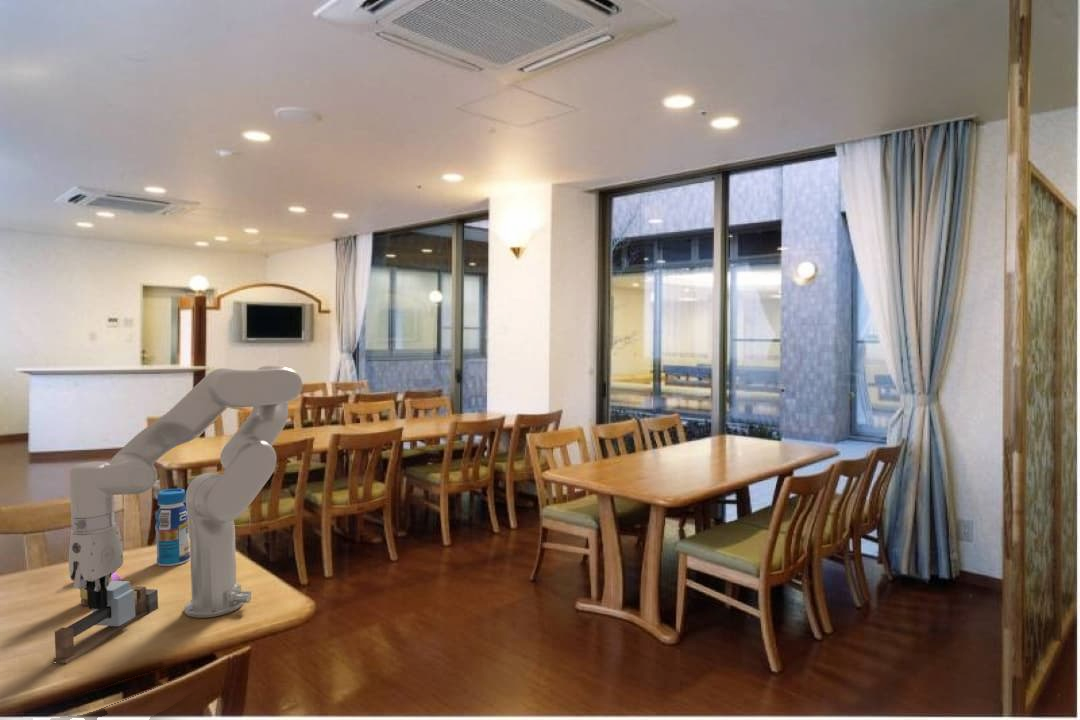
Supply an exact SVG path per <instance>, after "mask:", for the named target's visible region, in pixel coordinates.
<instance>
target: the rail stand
mask: <svg viewBox="0 0 1080 720" xmlns="http://www.w3.org/2000/svg"><path fill="white" fill-rule="evenodd" d="M146 587H147V586H140V585H137V586H134V587H132V588H131V589H132V590H134V591H135V617H133V618H132V619H130V620H128V621H127V622H125V623H124V624H122V625H120V626H105V627H104V628H102V629H101V630H99V631H96V632H95V633H94V634H93V635H91V636H89V637H87V638H86V639H84V640H82V641H81V642H79V643H77V644H76V645H75V644H74V643H75V640H74V638H75V637H78V636H79V635H80V634H82V633H84V632H86V631H87V630H89V629H91V628H92V627H94V626H97V625H96V624H97V623H99V622H101V621H102V620H104V619H106V618H108V617H109V616H111V606H106V607H104V608H102V609H98V610H97V611H95V612H93V611H92V612H91V613H89V614H88V615H86V616H84V617H82V618H81V619H79V620H77V621H75V622H74V623H72V624H70V625H68V626H67V627H61V628H59V629H57V630H54V646H55V650H54V651H55V652H54V653H55V657H54V658H53V659H52V663H53V662H56V663H66V664H65V665H68V664H70V663H71V662H73V661H74V660H76V659H78V658H79V657H81V656H82V655H83V654H85V653H87V652H89V651H90V650H92V649H93V648H95V647H96V646H98V645H100V644H101V643H103V642H104V641H106V640H107V639H109V638H110V637H112V636H114V635H116V634H118V632H120V631H122V630H124V629H125V628H127V627H128V626H130V625H131V624H132V623H135V622H137V620H139V619H141V618H142V617H144V616H145V615H148V614H151V613H152V612H155V611H157V609H159V598H158V597H159V596H158V592H159V591H158V589H152V588H151V589H149V588H146ZM69 662H70V663H69ZM67 663H68V664H67Z"/></svg>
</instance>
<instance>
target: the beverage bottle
mask: <svg viewBox="0 0 1080 720" xmlns="http://www.w3.org/2000/svg"><path fill="white" fill-rule="evenodd" d="M184 503H186V490H185V489H183V488H169V489H164V490H160V491H158V493H157V505H158V506H159V507H158V509H157V510H156V514H155V517H154V518H155V520H156V523H155V525H154V530H155V536H156V539H155V540H156V564H157V565H158V566H160V567H174V566H179V565H182V564H185V563H187V562H188V561H190V532H189V521H188V514H187V509H186V504H184Z"/></svg>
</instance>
